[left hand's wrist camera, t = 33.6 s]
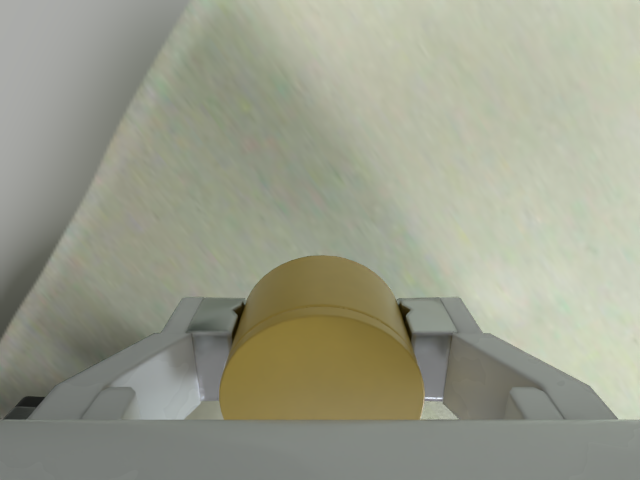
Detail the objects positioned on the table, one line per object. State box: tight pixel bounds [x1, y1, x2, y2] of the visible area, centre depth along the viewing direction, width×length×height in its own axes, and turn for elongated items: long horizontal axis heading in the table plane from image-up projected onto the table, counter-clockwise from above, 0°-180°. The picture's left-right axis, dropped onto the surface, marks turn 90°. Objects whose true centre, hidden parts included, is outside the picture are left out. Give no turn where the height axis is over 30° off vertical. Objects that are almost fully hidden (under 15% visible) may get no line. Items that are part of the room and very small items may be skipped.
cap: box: [219, 255, 425, 420], centre depth 9 cm, size 4×4×3 cm
